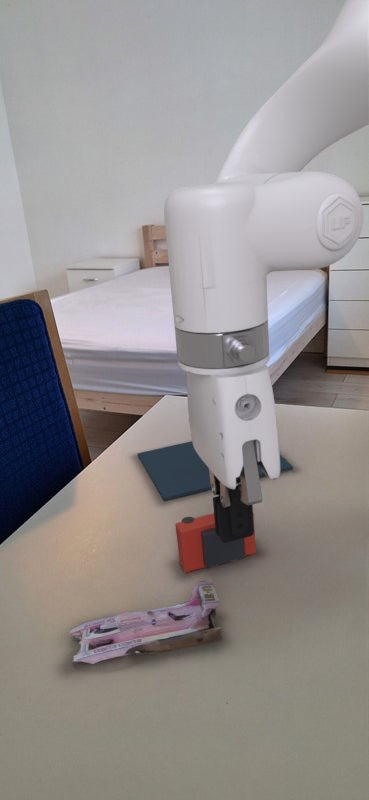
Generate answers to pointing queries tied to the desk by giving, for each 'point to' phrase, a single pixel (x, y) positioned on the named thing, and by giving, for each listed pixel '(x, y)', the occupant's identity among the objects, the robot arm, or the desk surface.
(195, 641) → the toy boat
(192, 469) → the mat
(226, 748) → the desk surface
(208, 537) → the red toy vehicle
